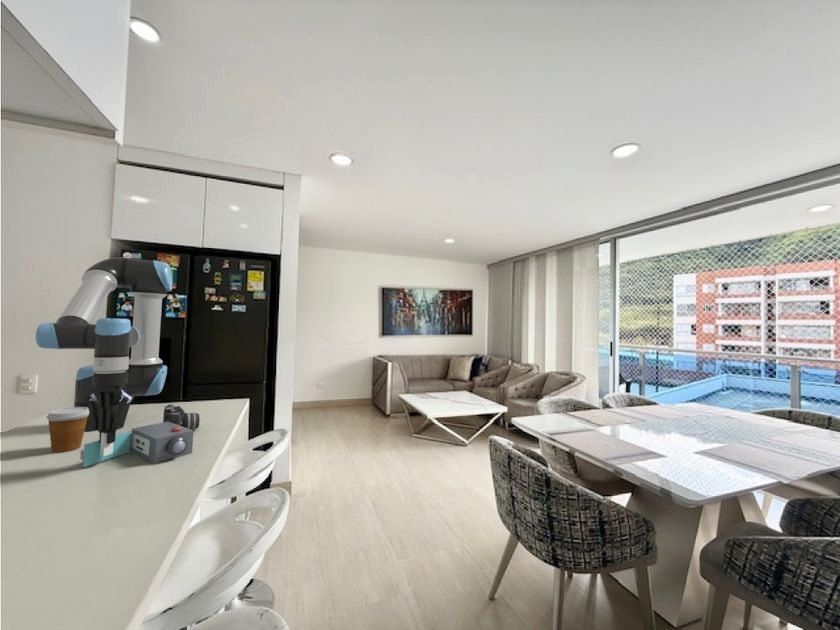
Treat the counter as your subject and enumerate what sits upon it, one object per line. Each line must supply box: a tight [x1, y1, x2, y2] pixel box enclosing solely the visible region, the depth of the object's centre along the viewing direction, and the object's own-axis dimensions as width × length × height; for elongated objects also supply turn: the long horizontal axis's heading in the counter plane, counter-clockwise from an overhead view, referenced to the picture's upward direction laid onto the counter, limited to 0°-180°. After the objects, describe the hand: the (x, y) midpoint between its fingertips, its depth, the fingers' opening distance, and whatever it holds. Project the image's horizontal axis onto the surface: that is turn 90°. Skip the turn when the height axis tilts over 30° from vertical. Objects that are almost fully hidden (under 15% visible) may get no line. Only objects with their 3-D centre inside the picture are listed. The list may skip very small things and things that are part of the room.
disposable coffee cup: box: [46, 406, 89, 453], centre depth 105 cm, size 10×10×12 cm
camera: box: [162, 403, 201, 431], centre depth 124 cm, size 14×11×10 cm
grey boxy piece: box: [130, 421, 194, 464], centre depth 105 cm, size 18×10×8 cm, turn 61°
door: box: [79, 430, 132, 468], centre depth 99 cm, size 12×2×6 cm, turn 170°
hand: (106, 454), depth 96 cm, fingers closed
